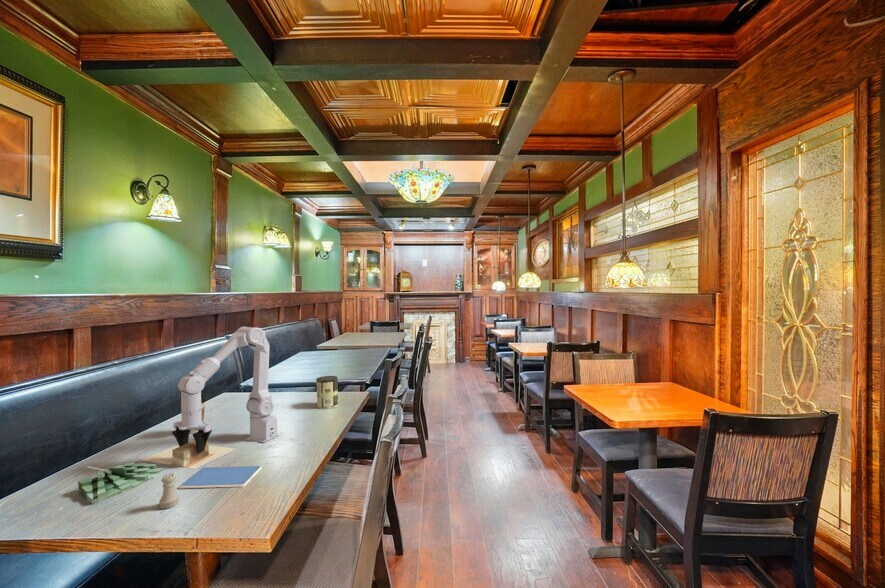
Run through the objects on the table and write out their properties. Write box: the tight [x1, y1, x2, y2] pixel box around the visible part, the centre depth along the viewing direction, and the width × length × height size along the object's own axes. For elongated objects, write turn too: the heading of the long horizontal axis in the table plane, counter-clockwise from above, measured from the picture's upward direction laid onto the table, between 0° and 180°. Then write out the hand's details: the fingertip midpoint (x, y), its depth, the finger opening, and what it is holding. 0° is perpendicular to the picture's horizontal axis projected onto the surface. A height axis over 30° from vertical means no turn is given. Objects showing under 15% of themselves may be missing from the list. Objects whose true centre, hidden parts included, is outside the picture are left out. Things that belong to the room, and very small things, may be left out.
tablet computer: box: [177, 465, 263, 490], centre depth 116 cm, size 19×13×1 cm, turn 92°
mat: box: [141, 441, 235, 470], centre depth 132 cm, size 24×16×1 cm, turn 72°
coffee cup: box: [189, 394, 206, 435], centre depth 154 cm, size 8×8×15 cm
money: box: [77, 462, 167, 506], centre depth 112 cm, size 20×16×5 cm
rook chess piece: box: [158, 472, 180, 510], centre depth 101 cm, size 4×4×8 cm
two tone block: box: [172, 440, 210, 468], centre depth 127 cm, size 9×5×5 cm, turn 162°
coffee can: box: [315, 375, 339, 410], centre depth 188 cm, size 10×10×14 cm
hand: (192, 450), depth 128 cm, fingers open, 7 cm apart
